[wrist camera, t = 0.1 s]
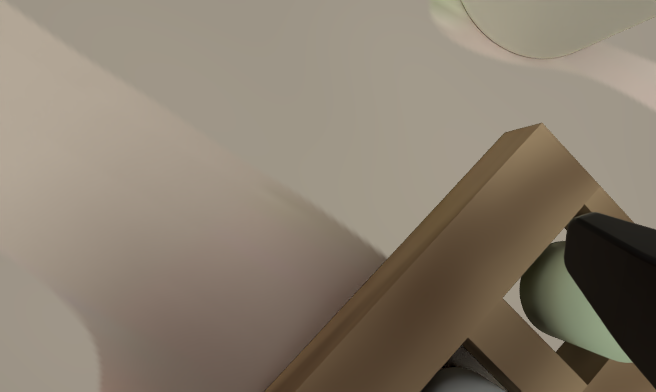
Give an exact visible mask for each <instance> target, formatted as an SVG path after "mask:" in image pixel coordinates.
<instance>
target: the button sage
mask: <svg viewBox="0 0 656 392" xmlns="http://www.w3.org/2000/svg"><path fill="white" fill-rule="evenodd" d="M565 242H566V241H560V242H554V243H551V244H549V245H548V247H547V248H546V249H545V250H544V251H543V252H542V253H541V255H540V256H539V257H538V258H537V259H536V260H535V261H534V263H533V264H532V265H531V266H530V267H529V268H528V269H527V270H526V272H525V273H524V274H523V275H522V276H521V281H520V299H521V304H522V307H523V310H524V312H525V314H526V316H527V317H528V319H529V320H530V322H531V323H532V324H533V325H534V326H535V327H536V328H538V329H539V330H540V331H542V332H544V333H546V334H548V335H550V336H553V337H555V338H558V339H561V340H563V341H566V342H568V343H571V344H573V345H576V346H578V347H581V348H584V349H586V350H589V351H591V352H594V353H596V354H599V355H601V356H604V357H607V358H609V359H612V360H615V361H618V362H624V363H633V362H632V361H631V360H630V359H629V357H628V356H627V355H626V354H625V352H624V351H623V350H622V349H621V348H620V346H619V345H618V343H617V342H616V341H615V339H614V338H613V337H612V335H611V334H610V333H609V331H608V330H607V328H606V327H605V325H604V324H603V322H602V321H601V319H600V318H599V317H598V315H597V314H596V312H595V311H594V309H593V308H592V306H591V305H590V303H589V302H588V301H587V299H586V298H585V296H584V295H583V293H582V292H581V290H580V289H579V288H578V286H577V285H576V283H575V282H574V280H573V279H572V277H571V276H570V274H569V273H568V271H567V269H566V267H565V264H564V250H565Z"/></svg>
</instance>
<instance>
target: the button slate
mask: <svg viewBox="0 0 656 392" xmlns="http://www.w3.org/2000/svg"><path fill="white" fill-rule="evenodd" d="M420 392H506V391H504V390H503V389H501V388H499V387H498V386H496V385H495V384H493V383H492V382H490V381H489V380H487V379H486V378H484V377H483V376H481V375H479V374H478V373H476V372H474V371H472V370H469V369H466V368H460V367H451V368H445V369H442V370H439V371H438V372H437V373H436V374H435V375H434V376H433V378H432V379H431V380H430V381H429V382H428V383H427V384H426V386H425V387H424V388H423V389H422V390H421V391H420Z"/></svg>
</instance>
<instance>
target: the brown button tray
mask: <svg viewBox="0 0 656 392" xmlns="http://www.w3.org/2000/svg"><path fill="white" fill-rule="evenodd" d="M590 212H598V213H601V214H605V215H608V216H611V217H615V218H618V219H622V220H625V221H628V222H632V223H634V222H633V221H632V220H631V219H630V218H629V217H628V216H627V215H626V214H625V212H624V211H623V210H622V209H621V208H620V207H619V206H618V205H617V204H616V203H615V202H614V200H613V199H612V198H611V197H610V196H609V195H608V194H607V193H606V192H605V191H604V190H603V188H602V187H601V186H600V185H599V184H598V183H597V182H596V181H595V180H594V179H593V178H592V176H591V175H590V174H589V173H588V172H587V171H586V170H585V169H584V168H583V167H582V166H581V165H580V163H578V161H577V160H576V159H575V158H574V157H573V156H572V155H571V154H570V153H569V151H568V150H567V149H566V148H565V147H564V146H563V145H562V144H561V143H560V142H559V141H558V140H557V138H556V137H555V136H554V135H553V134H552V133H551V132H550V131H549V130H548V129H547V128H546V126H545V125H544V124H543V123H539V124H535V125H532V126H528V127H524V128H520V129H516V130H513V131H509V132H506V133H504V134H503V135H502V136H501V137H500V138H499V139H498V141H497V142H496V143H495V144H494V145H493V146H492V147H491V148H490V149H489V150H488V151H487V152H486V153H485V154H484V155H483V157H482V158H481V159H480V160H479V161H478V162H477V163H476V164H475V165H474V166H473V167H472V169H471V170H470V171H469V172H468V173H467V174H466V175H465V176H464V177H463V178H462V179H461V180H460V181H459V182H458V184H457V185H456V186H455V187H454V188H453V189H452V190H451V191H450V192H449V194H447V195H446V197H445V198H444V199H443V200H442V201H441V202H440V203H439V204H438V205H437V206H436V207H435V208H434V209H433V210H432V212H431V213H430V214H429V215H428V216H427V217H426V218H425V219H424V220H423V221H422V222H421V224H420V225H419V226H418V227H417V228H416V229H415V230H414V231H413V232H412V233H411V234H410V235H409V236H408V237H407V239H406V240H405V241H404V242H403V243H402V244H401V245H400V246H399V247H398V248H397V249H396V250H395V251H394V252H393V254H392V255H391V256H390V257H389V258H388V259H387V260H386V261H385V262H384V263H383V264H382V265H381V267H380V268H379V269H378V270H377V271H376V272H375V273H374V274H373V275H372V276H371V277H370V278H369V279H368V281H367V282H366V283H365V284H364V285H363V286H362V287H361V288H360V289H359V290H358V291H357V292H356V293H355V295H354V296H353V297H352V298H351V299H350V300H349V301H348V302H347V303H346V304H345V305H344V306H343V307H342V309H341V310H340V311H339V312H338V313H337V314H336V315H335V316H334V317H333V318H332V319H331V320H330V321H329V323H328V324H327V325H326V326H325V327H324V328H323V329H322V330H321V331H320V332H319V333H318V334H317V335H316V337H315V338H314V339H313V340H312V341H311V342H310V343H309V344H308V345H307V346H306V347H305V348H304V349H303V351H302V352H301V353H300V354H299V355H298V356H297V357H296V358H295V359H294V360H293V361H292V362H291V363H290V365H289V366H288V367H287V368H286V369H285V370H284V371H283V372H282V373H281V374H280V375H279V376H278V378H277V379H276V380H275V381H274V382H273V383H272V384H271V385H270V386H269V387H268V388H267V389H266V390H265V392H420V391H421V390H422V389H423V388H424V387H425V386H426V384H427V383H428V382H429V381H430V380H431V379H432V378H433V376H434V375H435V374H436V373H437V372H438V371H439V370H440V368H441V367H442V366H443V365H444V364H445V363H446V362H447V361H448V359H449V358H450V357H451V356H452V355H453V354H454V353H455V351H456V350H457V349H458V348H459V347H460V346H461V345H463V346H464V347H465V348H466V349H467V350H468V351H469V352H470V353H471V354H472V355H473V356H474V357H475V358H476V359H477V360H478V361H479V362H480V363H481V364H482V365H483V366H484V367H485V368H486V369H487V370H488V371H489V372H490V373H491V374H492V375H493V376H494V377H495V378H496V379H497V380H498V381H499V382H500V383H501V384H502V385H503V386H504V387H505V388H506V389H507V390H508V391H509V392H656V389H655V388H654V387H653V386H652V385H651V383H650V382H649V381H648V380H647V379H646V378H645V376H644V375H643V374H642V373H641V372H640V371H639V369H638V368H637V367H636V366H635V365H634V363H624V362H618V361H615V360H612V359H609V358H607V357H604V356H601V355H599V354H596V353H594V352H591V351H589V350H586V349H584V348H581V347H578V346H576V345H573V344H571V343H568V342H566V341H565V342H564V343H563V344H562V346H561V347H560V348H559V349H558V350H557V351H556V352H555V351H554V350H553V349H552V348H551V347H550V346H549V345H548V344H547V343H546V342H545V341H544V340H543V339H542V338H541V337H540V336H539V335H538V334H537V333H536V332H535V331H534V330H533V329H532V328H531V327H530V326H529V325H528V324H527V323H526V322H525V321H524V320H523V319H522V317H520V316H519V314H518V313H517V312H516V311H515V310H514V309H513V308H512V307H511V306H510V305H509V304H508V303H507V302H506V301H505V300H504V299H503V297H504V296H505V294H506V293H507V292H508V291H509V290H510V289H511V288H512V286H513V285H514V284H515V283H516V282H517V281H518V279H519V278H520V277H521V276H522V275H523V274H524V273H525V272H526V270H527V269H528V268H529V267H530V266H531V265H532V264H533V263H534V261H535V260H536V259H537V258H538V257H539V256H540V255H541V253H542V252H543V251H544V250H545V249H546V248H547V247H548V245H549V244H550V243H551V242H552V241H553V239H555V237H556V236H557V235H558V234H559V233H560V232H561V231H562V229H563V228H565V229H566V230H567V227H568V223H569V222H570V220H571V219H573V218H574V217H577V216H581V215H584V214H587V213H590Z"/></svg>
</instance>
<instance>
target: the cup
mask: <svg viewBox="0 0 656 392" xmlns="http://www.w3.org/2000/svg"><path fill="white" fill-rule="evenodd" d="M461 1H462V4H463V6H464V8H465V9H466V11H467V13H468V15H469V16H470V17H471V19H472V20H473V22H474V23H475V24H476V25H477V27H478V28H479V29H480V30H481V31H482V32H483V33H484V34H485V35H486V36H487V37H488V38H490V39H491V40H492V41H493V42H495V43H496V44H498V45H499V46H501V47H503V48H504V49H506V50H508V51H511V52H513V53H515V54H518V55H521V56H525V57H530V58H538V59H550V58H557V57H562V56H566V55H569V54H572V53H574V52H576V51H579V50H581V49H583V48H586V47H588V46H590V45H592V44H595V43H597V42H599V41H601V40H604V39H606V38H608V37H611V36H613V35H615V34H617V33H620V32H622V31H624V30H626V29H629V28H631V27H633V26H635V25H638V24H640V23H642V22H644V21H647V20H649V19H652V18H654V17H656V0H461Z"/></svg>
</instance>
